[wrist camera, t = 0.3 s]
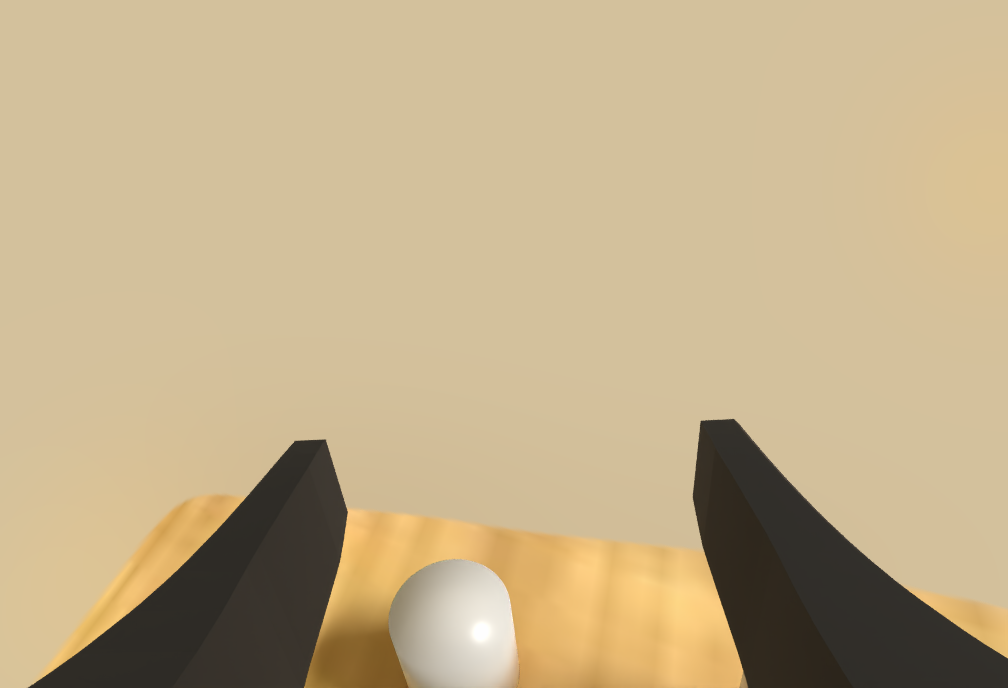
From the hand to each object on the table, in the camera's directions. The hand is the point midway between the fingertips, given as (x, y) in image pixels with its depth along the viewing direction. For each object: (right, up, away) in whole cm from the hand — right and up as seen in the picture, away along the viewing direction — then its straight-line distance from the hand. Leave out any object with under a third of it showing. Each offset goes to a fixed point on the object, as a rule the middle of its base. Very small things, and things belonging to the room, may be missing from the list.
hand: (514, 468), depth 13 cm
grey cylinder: (-2, -13, +18) cm, 22 cm away
